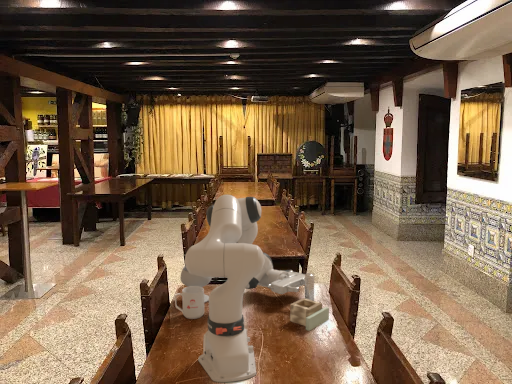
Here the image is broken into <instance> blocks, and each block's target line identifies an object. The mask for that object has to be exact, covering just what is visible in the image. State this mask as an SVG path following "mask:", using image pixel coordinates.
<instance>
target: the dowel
mask: <svg viewBox="0 0 512 384" xmlns="http://www.w3.org/2000/svg"><path fill="white" fill-rule="evenodd" d="M304 275H305V285H304V298H305V299H309V300H313V301H315V274H314V273H311V272H310V273H304Z"/></svg>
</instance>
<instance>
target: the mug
mask: <svg viewBox="0 0 512 384" xmlns="http://www.w3.org/2000/svg"><path fill="white" fill-rule="evenodd" d="M204 294H205V288H204V286H203V287H200V286H189V287H188V286H185V287H184V288H182V291H181V292H178V293H174V304H175V305H174V306H175V309H177V310H179V311H180V312H182V315H183V316H184V317H185V318H186V319H190V320H193V319H194V320H196V319H200V318H202V317H203V316H204V314H205V303H204ZM177 296H181V297H182V299H181V300H182V302H181V303H182V308H181V307H180V306H178V305H177Z"/></svg>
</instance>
